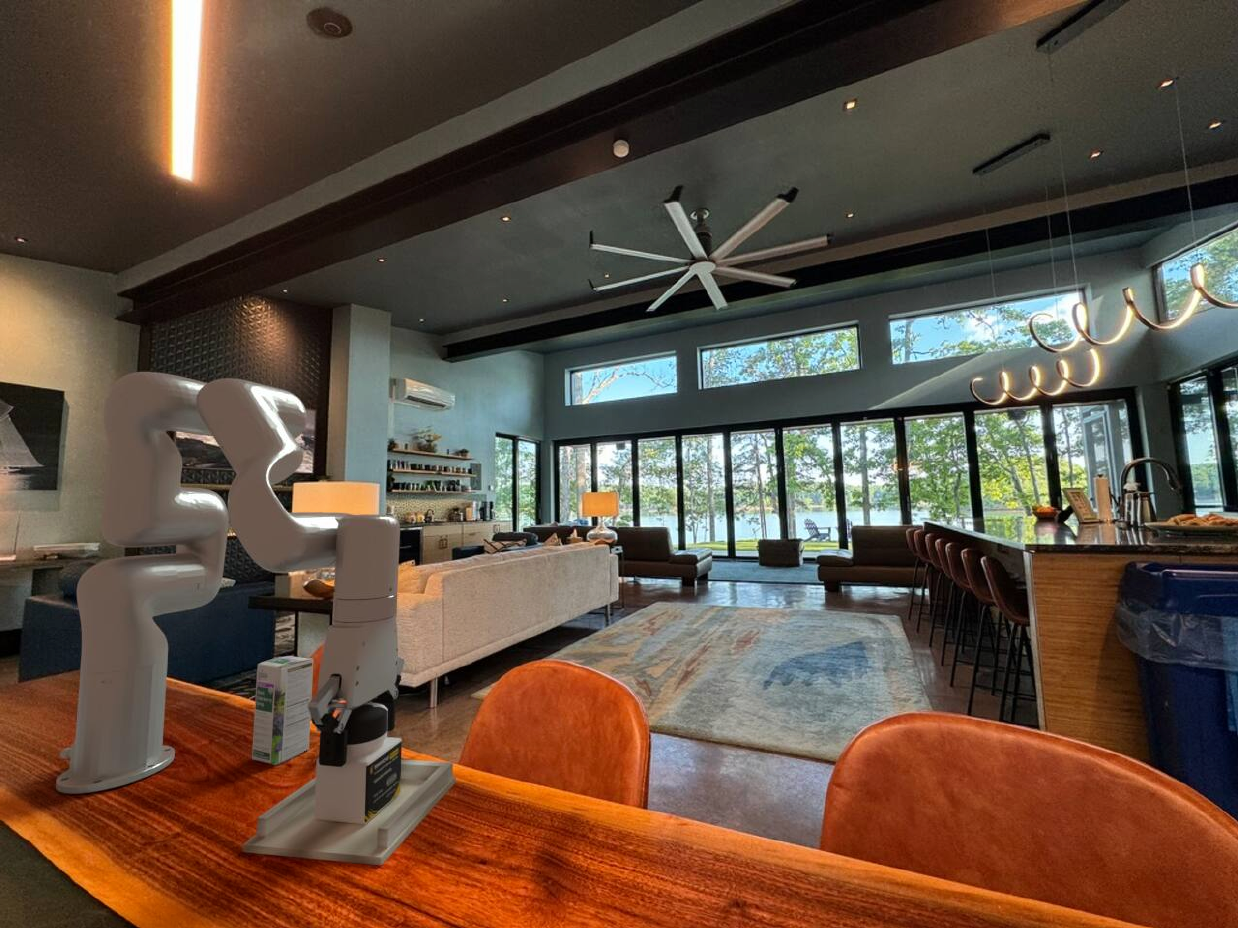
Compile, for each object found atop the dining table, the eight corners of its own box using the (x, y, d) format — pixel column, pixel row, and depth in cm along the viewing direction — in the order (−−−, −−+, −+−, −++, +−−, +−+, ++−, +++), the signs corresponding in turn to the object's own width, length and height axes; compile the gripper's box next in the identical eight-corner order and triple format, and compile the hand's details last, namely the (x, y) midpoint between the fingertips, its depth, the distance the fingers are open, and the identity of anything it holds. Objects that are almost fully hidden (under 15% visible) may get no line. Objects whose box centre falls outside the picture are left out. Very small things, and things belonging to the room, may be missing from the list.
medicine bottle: (365, 826, 61) (368, 720, 62) (312, 820, 62) (316, 717, 63) (401, 793, 68) (403, 699, 69) (353, 789, 69) (356, 696, 70)
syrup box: (249, 760, 79) (254, 663, 81) (287, 744, 85) (290, 653, 86) (274, 766, 77) (279, 667, 79) (311, 749, 83) (314, 656, 84)
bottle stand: (242, 851, 58) (243, 825, 58) (345, 774, 74) (345, 754, 75) (381, 865, 55) (382, 837, 55) (455, 782, 72) (455, 761, 72)
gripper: (379, 597, 76) (374, 717, 75) (287, 622, 59) (278, 778, 58) (426, 598, 75) (422, 720, 74) (346, 625, 58) (339, 784, 57)
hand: (359, 745), depth 66 cm, fingers open, 9 cm apart
